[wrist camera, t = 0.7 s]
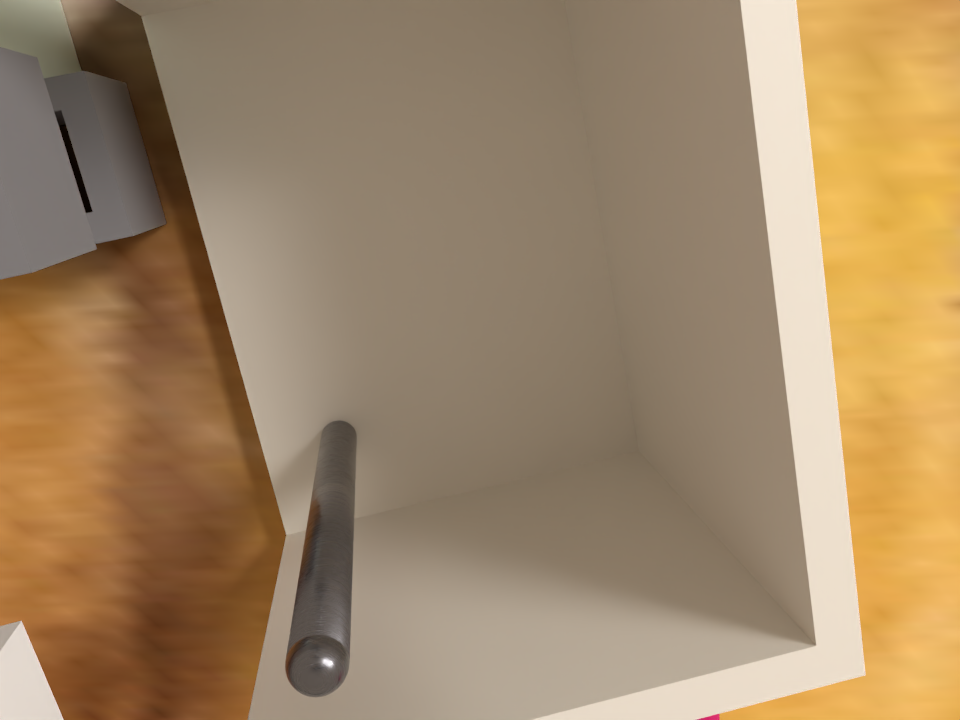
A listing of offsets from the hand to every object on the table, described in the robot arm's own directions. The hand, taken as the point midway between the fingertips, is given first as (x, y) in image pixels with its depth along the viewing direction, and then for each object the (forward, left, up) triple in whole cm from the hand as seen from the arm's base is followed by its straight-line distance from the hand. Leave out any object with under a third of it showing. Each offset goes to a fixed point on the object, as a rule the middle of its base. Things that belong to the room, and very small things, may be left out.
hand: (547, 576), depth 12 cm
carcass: (-2, 0, -25) cm, 25 cm away
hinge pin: (+5, -5, -23) cm, 24 cm away
